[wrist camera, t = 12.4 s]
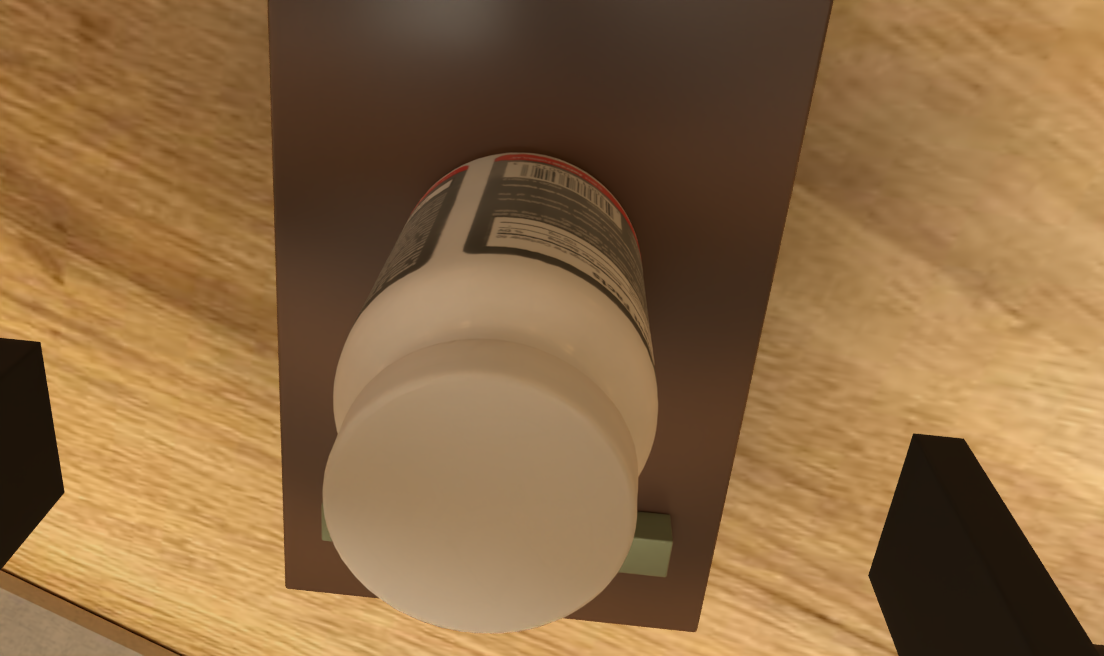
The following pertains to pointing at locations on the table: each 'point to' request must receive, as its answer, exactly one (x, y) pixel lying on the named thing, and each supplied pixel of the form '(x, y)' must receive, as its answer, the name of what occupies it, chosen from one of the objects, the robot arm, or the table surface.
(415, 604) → the pill bottle
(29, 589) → the barrier
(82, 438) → the table surface
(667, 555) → the walnut shelf
